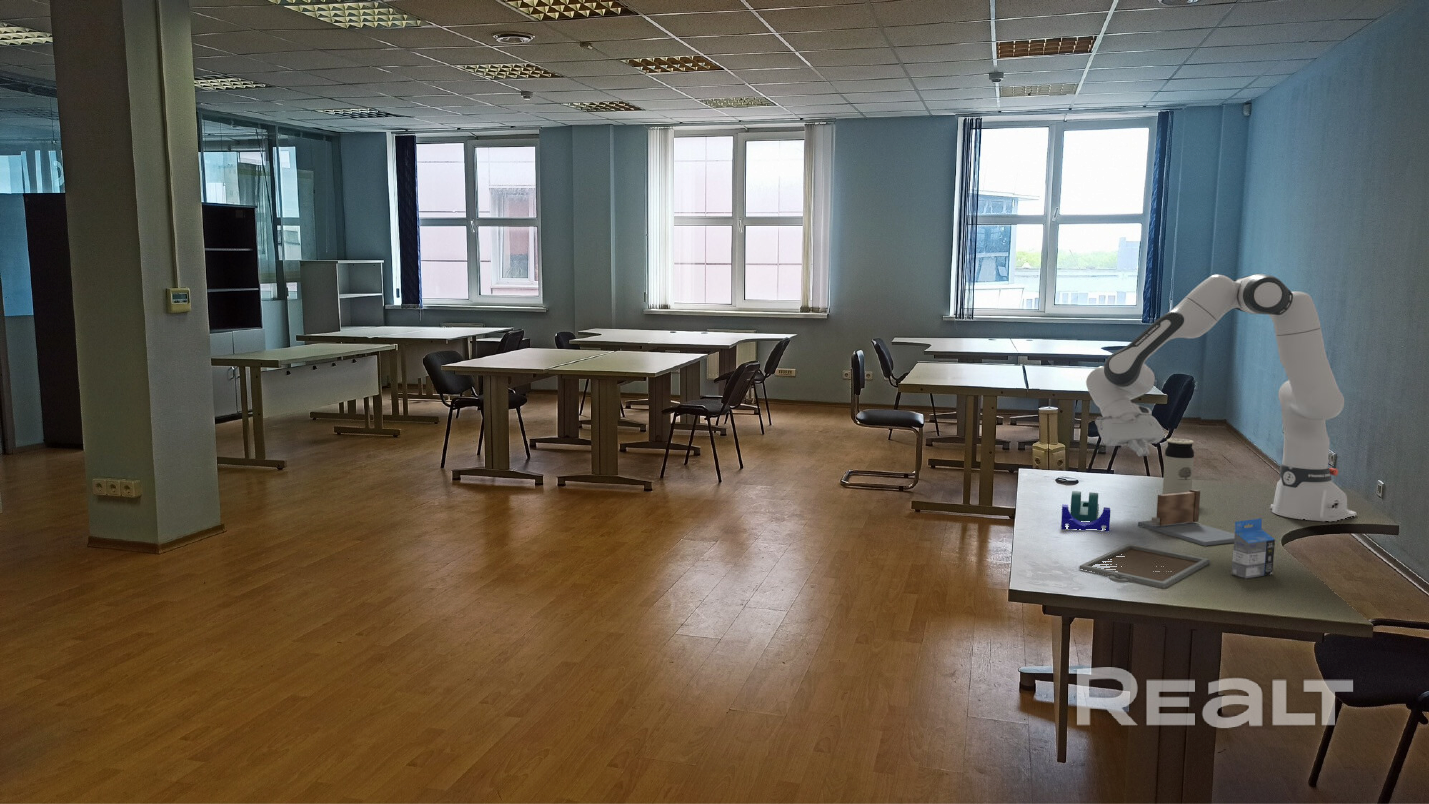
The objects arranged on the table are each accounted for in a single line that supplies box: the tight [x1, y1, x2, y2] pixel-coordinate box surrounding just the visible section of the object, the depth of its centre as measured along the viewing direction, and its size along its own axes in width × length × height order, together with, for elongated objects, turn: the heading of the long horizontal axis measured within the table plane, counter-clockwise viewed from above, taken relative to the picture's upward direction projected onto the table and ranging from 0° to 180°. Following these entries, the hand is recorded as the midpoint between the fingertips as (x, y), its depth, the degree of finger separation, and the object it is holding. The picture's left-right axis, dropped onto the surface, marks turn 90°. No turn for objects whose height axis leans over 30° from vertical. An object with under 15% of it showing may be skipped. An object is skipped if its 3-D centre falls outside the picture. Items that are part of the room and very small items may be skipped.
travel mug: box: [1162, 438, 1195, 494], centre depth 297 cm, size 8×8×18 cm
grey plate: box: [1137, 520, 1235, 547], centre depth 257 cm, size 14×22×1 cm, turn 21°
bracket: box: [1069, 490, 1100, 522], centre depth 276 cm, size 18×7×8 cm, turn 156°
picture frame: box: [1079, 543, 1210, 589], centre depth 226 cm, size 19×2×30 cm
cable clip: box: [1060, 503, 1111, 532], centre depth 261 cm, size 12×4×6 cm, turn 72°
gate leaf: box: [1150, 488, 1201, 526], centre depth 261 cm, size 15×2×8 cm, turn 111°
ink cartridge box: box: [1230, 518, 1276, 580], centre depth 220 cm, size 9×4×12 cm, turn 114°
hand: (1144, 454), depth 276 cm, fingers closed
